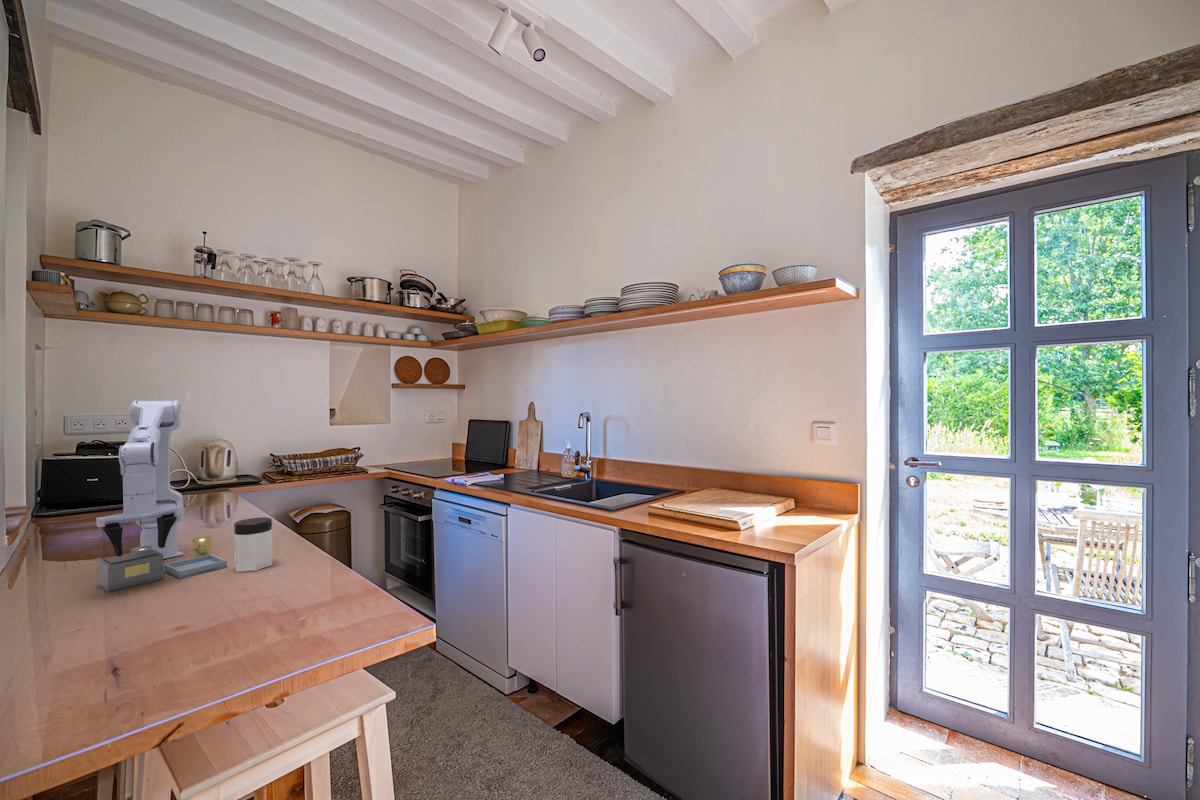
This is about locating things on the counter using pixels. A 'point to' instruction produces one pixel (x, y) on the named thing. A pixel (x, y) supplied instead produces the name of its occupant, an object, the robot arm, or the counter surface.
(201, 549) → the part brass
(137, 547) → the part grey
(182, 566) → the tray
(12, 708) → the counter surface
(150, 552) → the unit
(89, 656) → the counter surface
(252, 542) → the jar
